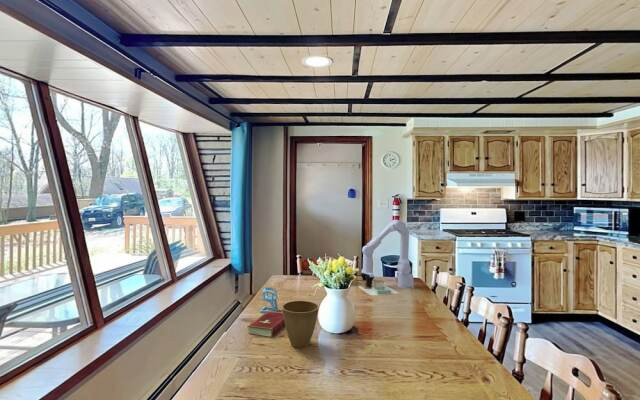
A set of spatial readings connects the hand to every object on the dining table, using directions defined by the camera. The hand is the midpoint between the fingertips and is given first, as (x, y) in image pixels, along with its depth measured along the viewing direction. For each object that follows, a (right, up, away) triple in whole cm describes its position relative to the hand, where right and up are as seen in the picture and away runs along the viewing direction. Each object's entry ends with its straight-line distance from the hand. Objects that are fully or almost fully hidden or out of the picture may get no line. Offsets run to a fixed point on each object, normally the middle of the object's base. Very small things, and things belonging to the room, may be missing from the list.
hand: (367, 285), depth 242 cm
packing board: (+6, -2, -4) cm, 8 cm away
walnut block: (0, -1, 0) cm, 1 cm away
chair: (-56, -3, -44) cm, 71 cm away
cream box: (+8, -1, +2) cm, 8 cm away
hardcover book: (-53, -5, -66) cm, 85 cm away
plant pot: (-38, -5, -85) cm, 94 cm away
